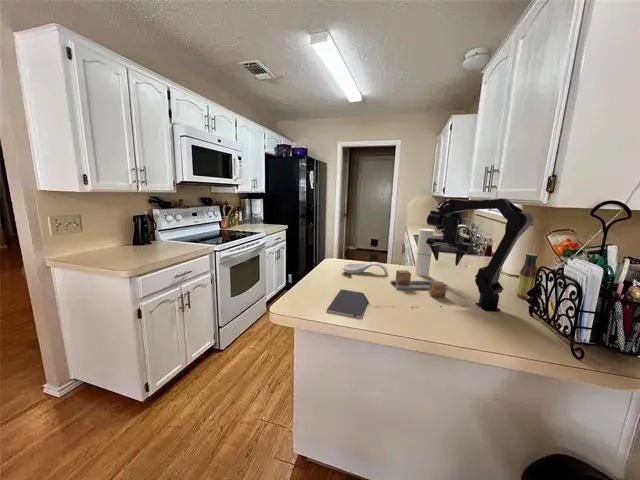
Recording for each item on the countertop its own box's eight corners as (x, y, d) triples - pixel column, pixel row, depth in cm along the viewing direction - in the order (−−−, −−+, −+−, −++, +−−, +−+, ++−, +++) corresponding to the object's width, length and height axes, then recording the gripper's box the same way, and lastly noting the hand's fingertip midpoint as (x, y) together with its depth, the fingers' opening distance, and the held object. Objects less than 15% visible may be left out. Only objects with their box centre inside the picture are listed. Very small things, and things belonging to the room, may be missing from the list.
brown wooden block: (444, 301, 115) (446, 285, 113) (431, 301, 114) (433, 285, 113) (440, 297, 118) (442, 282, 117) (427, 297, 117) (429, 282, 116)
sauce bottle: (527, 295, 125) (536, 252, 121) (536, 301, 119) (546, 256, 115) (512, 294, 126) (520, 251, 122) (520, 299, 120) (529, 255, 116)
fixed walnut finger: (409, 287, 124) (411, 272, 123) (397, 287, 123) (399, 272, 122) (406, 284, 127) (408, 270, 126) (395, 284, 127) (396, 270, 125)
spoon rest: (340, 275, 142) (341, 262, 140) (343, 269, 153) (344, 256, 152) (387, 281, 137) (388, 267, 135) (387, 274, 148) (388, 261, 147)
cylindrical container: (414, 277, 143) (419, 230, 138) (413, 273, 149) (419, 228, 145) (429, 279, 141) (435, 231, 136) (427, 275, 148) (433, 229, 143)
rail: (444, 293, 123) (445, 287, 122) (397, 293, 120) (397, 287, 120) (433, 285, 132) (434, 279, 132) (389, 285, 130) (389, 279, 130)
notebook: (340, 292, 120) (326, 313, 100) (340, 289, 120) (326, 309, 100) (369, 297, 116) (361, 319, 97) (370, 293, 116) (361, 315, 96)
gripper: (482, 230, 117) (476, 265, 120) (440, 224, 132) (436, 256, 135) (469, 231, 111) (464, 269, 113) (427, 225, 125) (423, 259, 128)
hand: (446, 263), depth 123 cm, fingers open, 9 cm apart
